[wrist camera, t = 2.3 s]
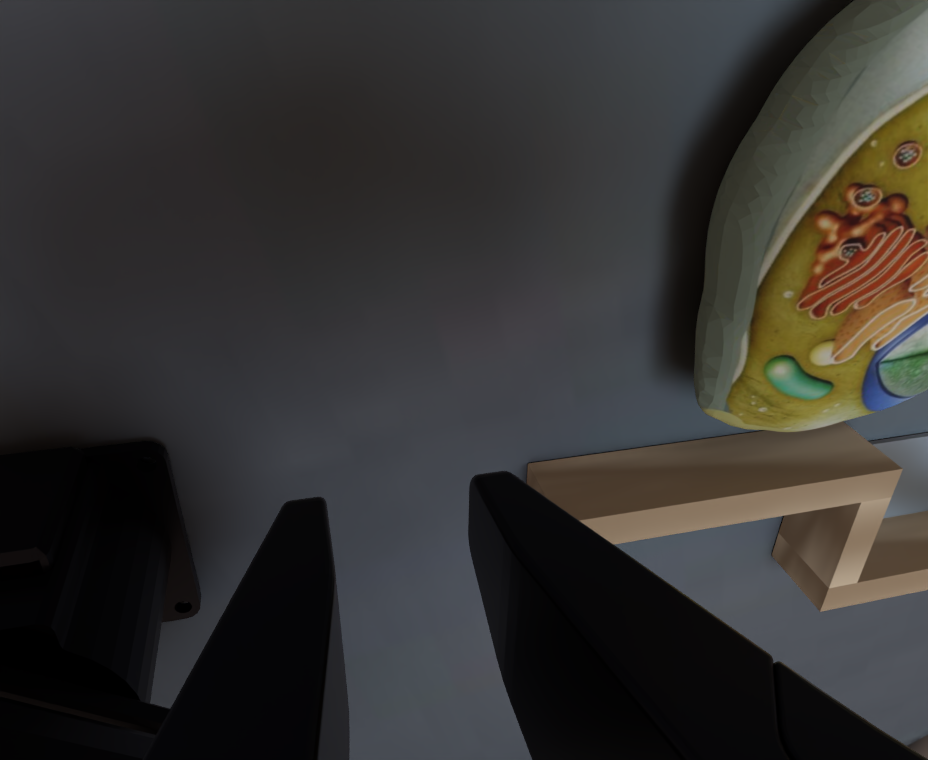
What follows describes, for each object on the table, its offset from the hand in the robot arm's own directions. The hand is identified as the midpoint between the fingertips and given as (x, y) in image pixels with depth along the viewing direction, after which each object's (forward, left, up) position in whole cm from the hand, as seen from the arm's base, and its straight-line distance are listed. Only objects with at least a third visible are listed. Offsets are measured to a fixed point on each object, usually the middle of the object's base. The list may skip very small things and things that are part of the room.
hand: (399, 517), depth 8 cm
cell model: (0, -16, -12) cm, 20 cm away
